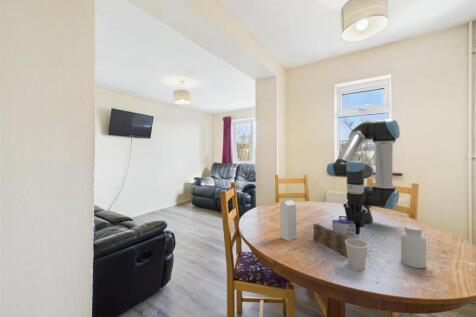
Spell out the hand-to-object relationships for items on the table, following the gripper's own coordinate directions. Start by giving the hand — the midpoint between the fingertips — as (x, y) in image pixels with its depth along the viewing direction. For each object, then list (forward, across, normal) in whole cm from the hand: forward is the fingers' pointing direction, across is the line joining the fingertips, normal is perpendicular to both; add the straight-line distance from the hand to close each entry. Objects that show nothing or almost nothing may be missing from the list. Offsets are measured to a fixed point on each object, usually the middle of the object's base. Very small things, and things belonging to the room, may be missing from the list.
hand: (355, 239), depth 106 cm
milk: (+3, -19, -26) cm, 33 cm away
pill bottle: (+3, +22, +7) cm, 23 cm away
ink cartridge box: (+3, -1, -7) cm, 7 cm away
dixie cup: (+3, +15, -16) cm, 23 cm away
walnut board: (+3, -2, -14) cm, 14 cm away
